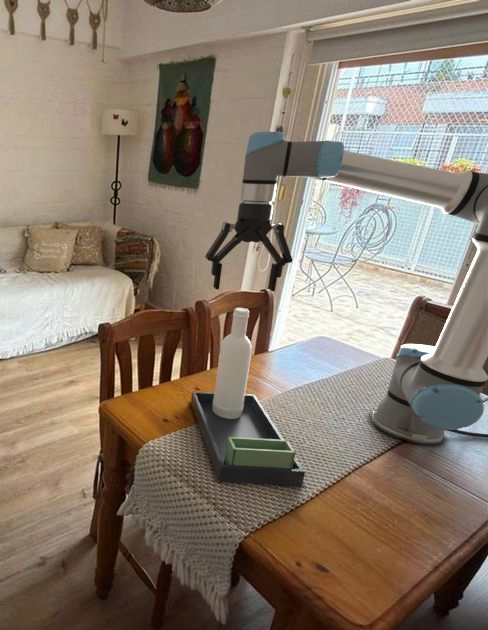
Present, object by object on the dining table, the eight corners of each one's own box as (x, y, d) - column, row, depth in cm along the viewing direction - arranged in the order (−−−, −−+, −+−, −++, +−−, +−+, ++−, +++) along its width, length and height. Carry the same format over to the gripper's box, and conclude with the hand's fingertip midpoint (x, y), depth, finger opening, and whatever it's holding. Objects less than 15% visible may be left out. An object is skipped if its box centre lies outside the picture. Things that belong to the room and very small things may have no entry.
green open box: (223, 462, 101) (227, 436, 99) (281, 466, 100) (287, 439, 98) (229, 475, 97) (233, 449, 94) (289, 479, 96) (295, 452, 93)
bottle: (237, 405, 125) (253, 305, 116) (245, 420, 118) (262, 315, 108) (209, 403, 126) (222, 304, 116) (215, 418, 119) (229, 313, 109)
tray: (190, 403, 128) (192, 391, 127) (252, 406, 127) (254, 394, 125) (219, 481, 96) (221, 466, 95) (301, 486, 95) (305, 471, 94)
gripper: (304, 202, 106) (288, 286, 113) (199, 200, 108) (190, 283, 115) (318, 204, 99) (300, 294, 106) (206, 202, 101) (196, 291, 108)
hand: (243, 289), depth 111 cm, fingers open, 13 cm apart
